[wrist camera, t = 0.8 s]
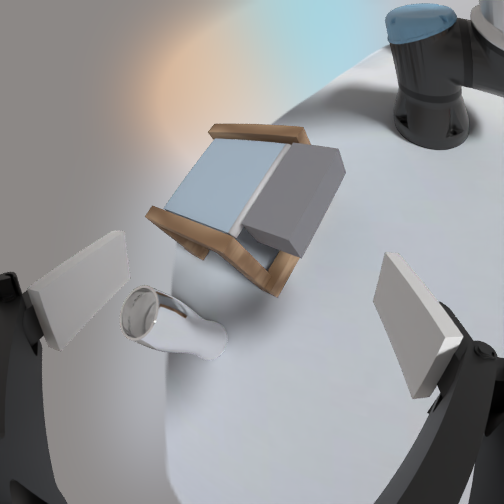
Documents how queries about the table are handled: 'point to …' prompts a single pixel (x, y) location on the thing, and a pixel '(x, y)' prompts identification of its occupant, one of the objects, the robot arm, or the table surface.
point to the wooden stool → (225, 245)
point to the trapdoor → (261, 191)
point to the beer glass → (170, 325)
